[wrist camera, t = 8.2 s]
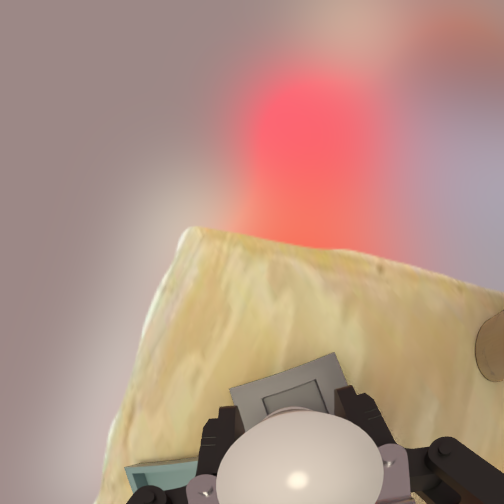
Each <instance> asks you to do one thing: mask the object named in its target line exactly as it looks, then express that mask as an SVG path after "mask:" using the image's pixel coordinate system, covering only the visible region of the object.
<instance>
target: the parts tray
mask: <svg viewBox="0 0 504 504" xmlns="http://www.w3.org/2000/svg"><path fill="white" fill-rule="evenodd" d="M198 458H199V457H193V458H186V459H179V460H171V461H162V462H151V463H138V464H135V465H131V466H128V467H124V468H125V471H126V474H127V477H128V480H129V483H130V486H131V488H132V491H133V494H134V493H135V491H136V490H137V489H139V488H140V487H143V486H146V485H154V486H157V487H159V488H161V489H162V490H163V491H165V490H170V489H175V488H180V487H183V486H185V485H187V484H188V482H189V481H190V480H191V479H193V478H194V477H195V475H196V470H197V464H198Z"/></svg>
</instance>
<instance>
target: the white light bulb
mask: <svg viewBox="0 0 504 504" xmlns="http://www.w3.org/2000/svg"><path fill="white" fill-rule="evenodd" d="M383 475H384V470H383V462H382V458H381V455H380V452H379V450H378V448H377V446H376V444H375V443H374V441H373V440H372V439H371V438H370V436H369V435H368V434H367V433H366V432H365V431H363V430H362V429H361V428H360V427H358V426H357V425H355V424H353V423H352V422H350V421H348V420H345V419H343V418H341V417H337V416H334V415H330V414H326V413H322V412H318V411H313V410H310V409H307V408H304V407H297V406H290V407H284V408H281V409H278V410H276V411H274V412H272V413H271V414H269V415H268V416H267V417H266V418H264V419H263V420H262V421H261V422H259V423H258V424H256V425H255V426H254V427H252V428H251V429H250V430H248V431H247V432H246V433H244V434H243V435H242V436H241V437H240V438H238V439H237V440H236V441H235V442H234V444H233V445H232V446H231V447H230V448H229V450H228V451H227V452H226V454H225V456H224V458H223V459H222V461H221V464H220V466H219V469H218V473H217V479H216V491H217V498H218V501H219V504H375V502H376V500H377V499H378V496H379V494H380V491H381V488H382V483H383Z"/></svg>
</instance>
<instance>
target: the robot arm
mask: <svg viewBox="0 0 504 504" xmlns="http://www.w3.org/2000/svg"><path fill="white" fill-rule="evenodd" d="M476 359H477V363H478V367H479V369H480V371H481V373H482V374H483V375H484V377H486V378H487V379H488V380H490V381H493V382H499V381H502V380H504V310H503V311H502V312H500V313H499V314H497V315H495V316H494V317H492V318H491V319H489V320H488V321H486V322H485V323H484V324H483V326H482V327H481V329H480V331H479V333H478V337H477V341H476ZM334 414H335V416H337V417H341V418H343V419H345V420H348V421H350V422H352V423H353V424H355V425H357V426H358V427H360V428H361V429H362V430H363V431H365V432H366V433H367V434H368V435H369V436H370V438H371V439H372V440H373V441H374V443H375V444H376V446H377V448H378V450H379V452H380V455H381V458H382V462H383V470H384V475H383V483H382V488H381V491H380V494H379V496H378V499H377V500H376V502H375V504H416V503H415V500H414V498H412V497H411V493H410V492H415V493H416V494H417V495H418V496H419V497H421V498H422V499H423V500H424V501H425V502H426V503H427V504H504V473H502V472H501V471H499V470H498V469H497V468H495V467H494V466H492V465H491V464H489V463H488V462H487V461H485V460H484V459H482V458H481V457H480V456H478V455H477V454H476V453H474V452H473V451H471V450H470V449H469V448H467V447H466V446H465V445H463V444H462V443H460V442H459V441H458V440H456V439H455V438H452V437H441V438H438V439H436V440H435V441H433V443H432V444H431V445H430V447H424V448H416V449H407V448H403V447H402V446H400V445H398V444H397V443H396V442H395V441H394V439H393V437H392V435H391V433H390V431H389V429H388V427H387V425H386V423H385V421H384V419H383V417H382V416H381V413H380V411H379V409H378V407H377V405H376V403H375V401H374V399H372V398H371V397H370V396H368V395H367V394H366V393H363V394H359V395H356V393H355V390H354V388H353V386H352V385H349V386H345V387H341V388H337V389H335V390H334ZM244 433H245V428H244V424H243V421H242V418H241V415H240V412H239V409H238V406H237V405H235V406H224V407H220V408H219V415H218V418H215V419H209V420H208V422H207V423H206V424H205V426H204V427H203V433H202V439H201V446H200V451H199V458H198V464H197V470H196V475H195V477H194V478H193V479H191V480H190V481H189V482H188V484H187V485H185V486H183V487H180V488H175V489H170V490H165V491H163V490H162V489H161V488H159V487H157V486H154V485H146V486H143V487H140V488H139V489H137V490H136V491H135V493H134V494H133V495H132V497H131V498H130V499H129V501H128V502H127V503H126V504H219V501H218V498H217V491H216V479H217V473H218V469H219V466H220V464H221V461H222V459H223V458H224V456H225V454H226V452H227V451H228V450H229V448H230V447H231V446H232V445H233V444H234V442H235V441H236V440H237V439H238V438H240V437H241V436H242V435H243V434H244Z"/></svg>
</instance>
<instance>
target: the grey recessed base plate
mask: <svg viewBox="0 0 504 504" xmlns="http://www.w3.org/2000/svg"><path fill="white" fill-rule="evenodd" d="M345 386H348V385H347V382H346V380H345V377H344V375H343V372H342V370H341V367H340V365H339V362H338V360H337V357H336V355H335V352H333V353H331V354H328V355H326V356H324V357H321V358H319V359H316V360H313V361H311V362H308V363H306V364H303V365H300V366H298V367H295V368H292V369H289V370H287V371H284V372H281V373H278V374H275V375H272V376H269V377H266V378H263V379H260V380H257V381H254V382H250V383H247V384H244V385H240V386H237V387H234V388H230V389H229V390H230V393H231V397H232V400H233V403H234V406H235V405H237V406H238V409H239V412H240V415H241V418H242V421H243V424H244V428H245V433H246V432H247V431H248V430H250V429H251V428H252V427H254V426H255V425H256V424H258V423H259V422H261V421H262V420H263V419H264V418H266V417H267V416H268V415H269V414H271V413H272V412H274V411H276V410H278V409H281V408H284V407H290V406H297V407H304V408H307V409H310V410H313V411H318V412H322V413H326V414H330V415H334V416H335V414H334V390H335V389H337V388H341V387H345Z"/></svg>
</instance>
